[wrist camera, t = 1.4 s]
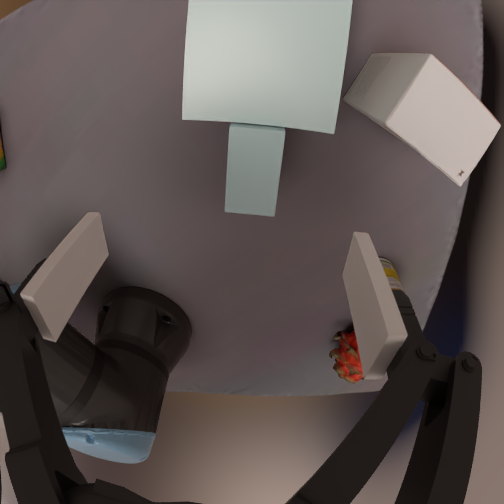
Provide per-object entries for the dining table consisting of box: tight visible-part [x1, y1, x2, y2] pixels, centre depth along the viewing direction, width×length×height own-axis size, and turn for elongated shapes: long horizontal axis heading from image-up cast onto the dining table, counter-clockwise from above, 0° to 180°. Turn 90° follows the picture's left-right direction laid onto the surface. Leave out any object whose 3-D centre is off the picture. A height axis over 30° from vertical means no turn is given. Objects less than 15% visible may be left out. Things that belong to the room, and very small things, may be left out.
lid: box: [182, 0, 352, 217], centre depth 21 cm, size 24×12×5 cm, turn 175°
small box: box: [343, 53, 501, 186], centre depth 22 cm, size 8×6×13 cm
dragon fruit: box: [329, 325, 364, 383], centre depth 44 cm, size 8×8×12 cm
